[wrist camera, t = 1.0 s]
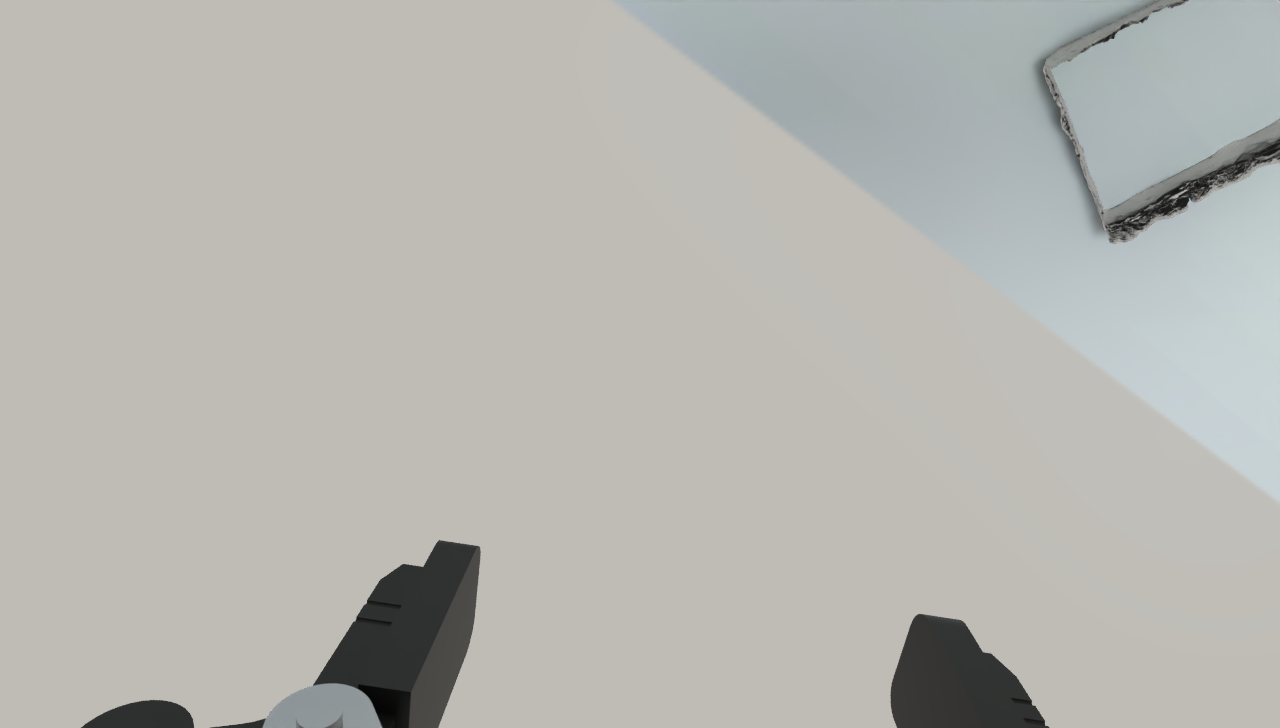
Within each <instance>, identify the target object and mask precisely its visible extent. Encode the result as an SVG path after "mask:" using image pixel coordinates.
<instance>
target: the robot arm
mask: <svg viewBox="0 0 1280 728" xmlns="http://www.w3.org/2000/svg"><path fill="white" fill-rule="evenodd" d="M479 565H480V547H479V546H474V545H467V544H460V543H454V542H447V541H440V540H439V541H438V542H437V543H436V545H435V547H434V549H433V551H432V552H431V554H430V556H429V558H428V559H427V561H426V563H425V565H424V567H419V566H413V565H406V564H402V565H401V566H400V567H398V568H397V569H395V570H394V571H392V572H391V573H390V574H388V575H387V576H385V577H384V578H382V579H381V580H380V581H379V583H378V584H377V586H376V588H375V589H374V591H373V592H372V594H371V595H370V597H369V598H368V600H367V604H366V605H364V606H363V608H362V609H361V611H360V613H359V614H358V616H357V619H356V621H355V622H353V623H352V625H351V627H350V628H349V630H348V632H347V633H346V635H345V636H344V638H343V639H342V641H341V642H340V644H339V645H338V647H337V649H336V650H335V652H334V654H333V655H332V657H331V658H330V660H329V661H328V663H327V664H326V666H325V667H324V669H323V671H322V672H321V674H320V675H319V677H318V679H317V680H316V682H315V683H314V685H313V686H311V687H307V688H305V689H302V690H299V691H297V692H295V693H293V694H291V695H290V696H288V697H287V698H285V699H284V700H282V701H281V702H280V703H279V704H278V705H276V706H275V707H274V709H273V710H272V711H271V712H270V713H269V715H268V716H267V718H266V719H263V720H259V721H255V722H251V723H245V724H238V725H229V726H222V727H212V728H438V726H439V724H440V721H441V719H442V716H443V713H444V711H445V708H446V706H447V703H448V700H449V698H450V695H451V692H452V690H453V687H454V685H455V682H456V679H457V677H458V674H459V671H460V669H461V666H462V664H463V661H464V658H465V656H466V653H467V649H468V646H469V643H470V639H471V635H472V630H473V624H474V617H475V607H476V597H477V596H476V595H477V586H478V575H479ZM891 709H892V714H893V718H894V721H895V723H896V726H897V728H1049V727H1048V726H1045V720H1044V719H1043V717H1042V716H1041V714H1040V713H1039V711H1038V710H1037V708H1036V706H1033V705H1032V700H1031V699H1030V697H1029V696H1028V694H1027V693H1026V691H1025V689H1024V688H1023V686H1022V685H1021V683H1020V682H1019V680H1018V679H1017V677H1016V676H1015V675H1014V674H1013V673H1012V672H1011V671H1010V670H1008V669H1007V668H1006V667H1005V666H1004V665H1003V664H1002V663H1001V662H1000V661H999V660H997V659H996V658H995V657H994V656H993V655H992V654H990V653H984V652H982V650H981V648H980V647H979V645H978V643H977V642H976V640H975V639H974V637H973V635H972V634H971V632H970V630H969V629H968V627H967V626H966V624H965V623H964V622H963V621H961V620H956V619H950V618H943V617H936V616H930V615H923V614H918V615H917V616H915V618H914V619H913V621H912V624H911V626H910V629H909V632H908V635H907V638H906V641H905V644H904V647H903V650H902V653H901V656H900V659H899V663H898V666H897V669H896V672H895V675H894V678H893V682H892V686H891ZM81 728H194V724H193V719H192V717H191V715H190V713H189V712H188V711H187V710H186V709H185V708H183V707H182V706H180V705H178V704H176V703H172V702H168V701H162V700H161V701H160V700H149V701H141V702H135V703H130V704H127V705H123V706H120V707H117V708H115V709H112V710H110V711H107V712H105V713H103V714H102V715H100V716H98V717H96V718H94V719H93V720H91V721H90V722H88V723H87V724H85V725H84V726H83V727H81Z"/></svg>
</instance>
